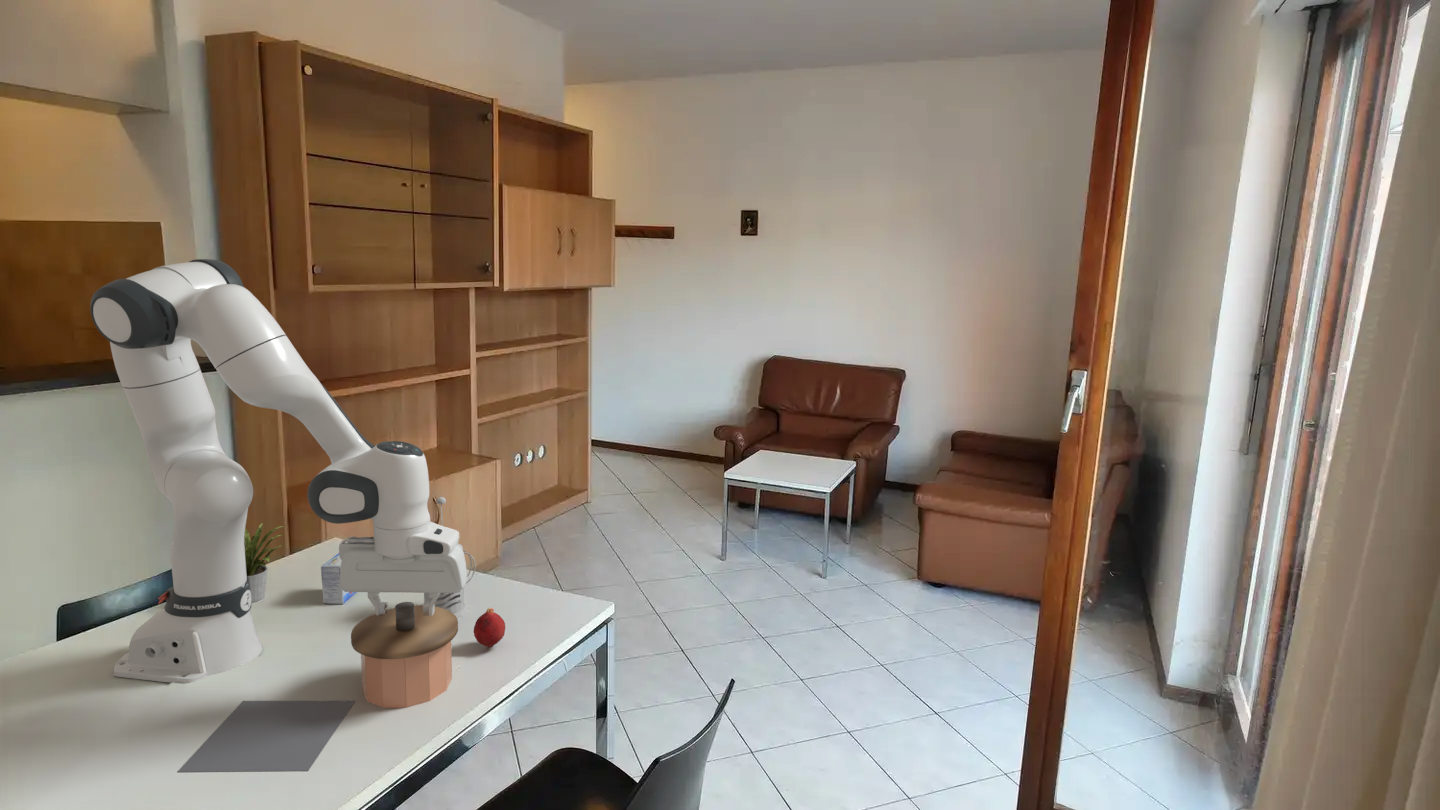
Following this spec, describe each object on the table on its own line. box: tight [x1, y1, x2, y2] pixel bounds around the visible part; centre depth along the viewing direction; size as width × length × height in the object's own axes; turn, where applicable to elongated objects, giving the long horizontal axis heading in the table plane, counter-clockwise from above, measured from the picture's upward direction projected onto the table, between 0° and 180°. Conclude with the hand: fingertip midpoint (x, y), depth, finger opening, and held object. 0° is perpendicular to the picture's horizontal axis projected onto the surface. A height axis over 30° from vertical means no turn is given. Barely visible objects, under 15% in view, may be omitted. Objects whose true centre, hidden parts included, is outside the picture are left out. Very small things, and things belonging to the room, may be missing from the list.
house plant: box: [244, 522, 287, 604], centre depth 166 cm, size 14×14×16 cm
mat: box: [176, 700, 356, 773], centre depth 121 cm, size 18×18×1 cm
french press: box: [423, 496, 476, 619], centre depth 163 cm, size 10×12×25 cm
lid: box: [350, 601, 459, 659], centre depth 134 cm, size 17×17×5 cm
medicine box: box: [320, 552, 357, 605], centre depth 169 cm, size 8×4×9 cm, turn 179°
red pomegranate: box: [473, 607, 506, 649], centre depth 150 cm, size 6×6×8 cm
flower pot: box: [360, 640, 453, 709], centre depth 135 cm, size 14×14×10 cm
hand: (405, 614), depth 134 cm, fingers open, 6 cm apart
